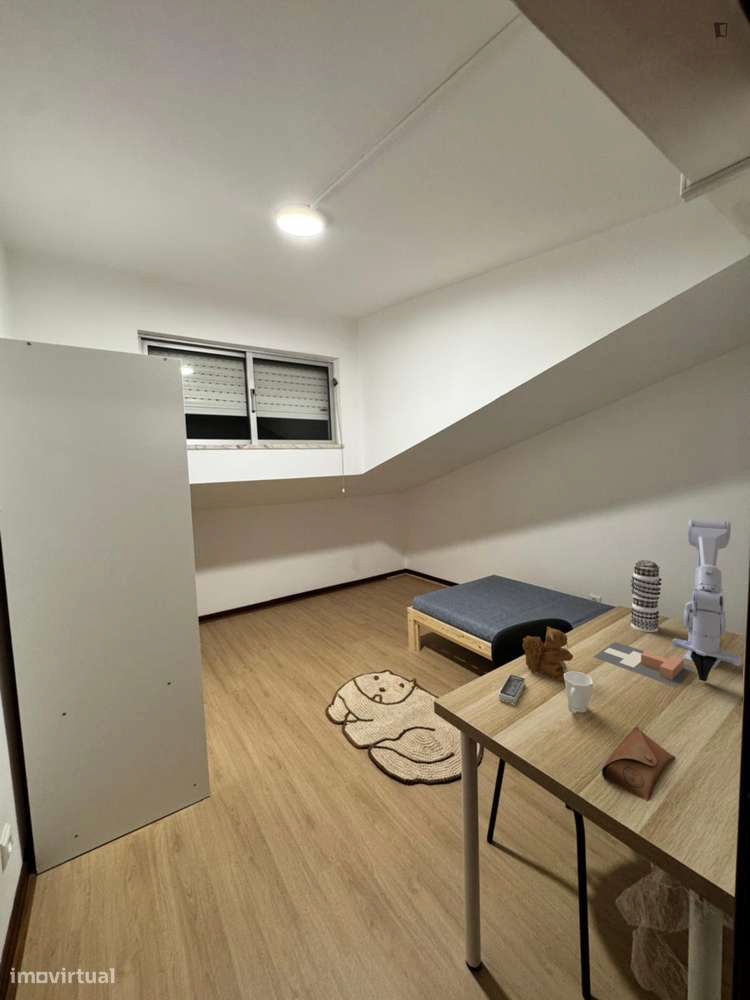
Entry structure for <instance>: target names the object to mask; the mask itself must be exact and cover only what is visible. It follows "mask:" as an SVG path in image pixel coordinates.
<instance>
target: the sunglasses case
mask: <svg viewBox="0 0 750 1000" xmlns="http://www.w3.org/2000/svg"><path fill="white" fill-rule="evenodd" d="M675 758H676V757H675V755H673V754H671V753H670V752H668V751H667V750H666V749H664V748H663V747H662V746H661V745H659V744H658V743H657V742H656V741H654V740H653V739H652V738H651V737H649V736H648V735H647V734H646V733H645V732H643V731H642V730H640V727H638V726H636V727H634V728H633V729H632V730H631V732H629V734H628V735H626V737H625V738H624V739H623V740H622V742H621V743H620V744H619V745H618V746H617V747H616V749H615V750H614V751H613V753H612V754H610V757H608V759H607V761H606V763H605V764H604V766H603V767H602V769H601V775H602V777H603V779H604V780H606V781H608V782H610V783H612V784H614V785H616V786H618V787H619V788H621V789H623V790H625V791H627V792H629V793H630V794H632V795H634V796H636V797H638V798H640V799H643V800H644V801H646V802H648V801H649V800H650V798H651V795H652V792H653V790H654V787H655V785H656V783H657V782H658V780H659V779H660V777H661V776H662V773H663V772H664V771H665V769H666V768H667V766H668V765H669V764H670V763H671V762H672V761H673V760H674V759H675Z"/></svg>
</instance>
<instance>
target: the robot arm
mask: <svg viewBox="0 0 750 1000" xmlns="http://www.w3.org/2000/svg"><path fill="white" fill-rule="evenodd" d="M731 524H732V523H731V522H730V521H729V520H713V519H711V520H710V519H695V518H690V519H688V528H687V529H688V530H687V537H688V540H687V541H688V542H689V545H690V546H692V547H695V548H696V552H697V554H698V555H697V567H696V568H695V573H694V590H693V591H692V598H691V599H692V600H690V601H687V602H686V604H685V605H684V613H683V614H684V615H683V627H684V628H685V629H688V630H687V632H688V635H687V640H685V639H679V638H676V637H675V638H673V639H672V640H671V643H672V644H671V646H672V647H673V648H680V649H684V650H687V652H686V653H685V654H684V655H683V656H682V658H683V659H684V660H688V661H691V662H692V663H694V665H695V668H696V671H697V674H698V679H699V681H703V682H705V683H706V682H707V680H708V678H709V675H710V672H711V670H712V668H713V669H715V668H717V666H718V665H719V664H720V663H721V661H724V662H727V663H730V664H733V665H734V666H736V667H739V666H741V661H742V660H741V659H742V657H741V656H740V655H739V656H738V655H736V654H734V653H731V652H729V651H726V650H723V649H720V642H721V641H720V640H721V639H720V638H721V637H720V636H723V635H725V634H726V626H727V625H726V622H727V620H726V611H725V597H724V591H723V588H722V586H723V585H722V583H723V582H722V580H723V579H722V571H721V570H720V569H719V568H718V567H717V560H718V554H719V550H721V549H726V548H727V546H728V545H729V542H730V540H731V532H732V529H731V528H732V525H731Z"/></svg>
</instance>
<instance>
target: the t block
mask: <svg viewBox="0 0 750 1000" xmlns="http://www.w3.org/2000/svg"><path fill="white" fill-rule="evenodd" d="M641 664H643V665H646V666H649V667H652V668H655V669H658V670H660V676H661V677H664V678H667V679H670V680H673V679H674V678H675V677H676V676H677V675H678V674H679V672H680V671H681V670H682V669H683V668H684V664H685V659H684V658H683V657H681V656H677V655H673V654H672V655H671V654H670V656H669V657H668V658H667V657H664V656H661V655H658V654H654V653H651V652H648V651H645V652H643V653H642V654H641Z"/></svg>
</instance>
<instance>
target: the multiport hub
mask: <svg viewBox="0 0 750 1000" xmlns="http://www.w3.org/2000/svg"><path fill="white" fill-rule="evenodd" d="M525 685H526V678H524V677H521V676H517V675H514V674H508V677H507V678H506V680H505V682H504V683H503V685H502V687H501V688H500V690H499V692H498V700H499V699H501V700H504V701H508V702H510V703H513V704H515V703H516V704H517V702H518V700H519V698H520V696H521V695H522V692H523V690H524V688H525ZM521 691H522V692H521ZM518 697H519V698H518ZM517 699H518V700H517ZM501 700H500V701H501ZM504 701H503V702H504ZM516 701H517V702H516ZM510 703H509V704H510ZM513 704H512V705H513ZM516 704H515V705H516Z"/></svg>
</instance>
